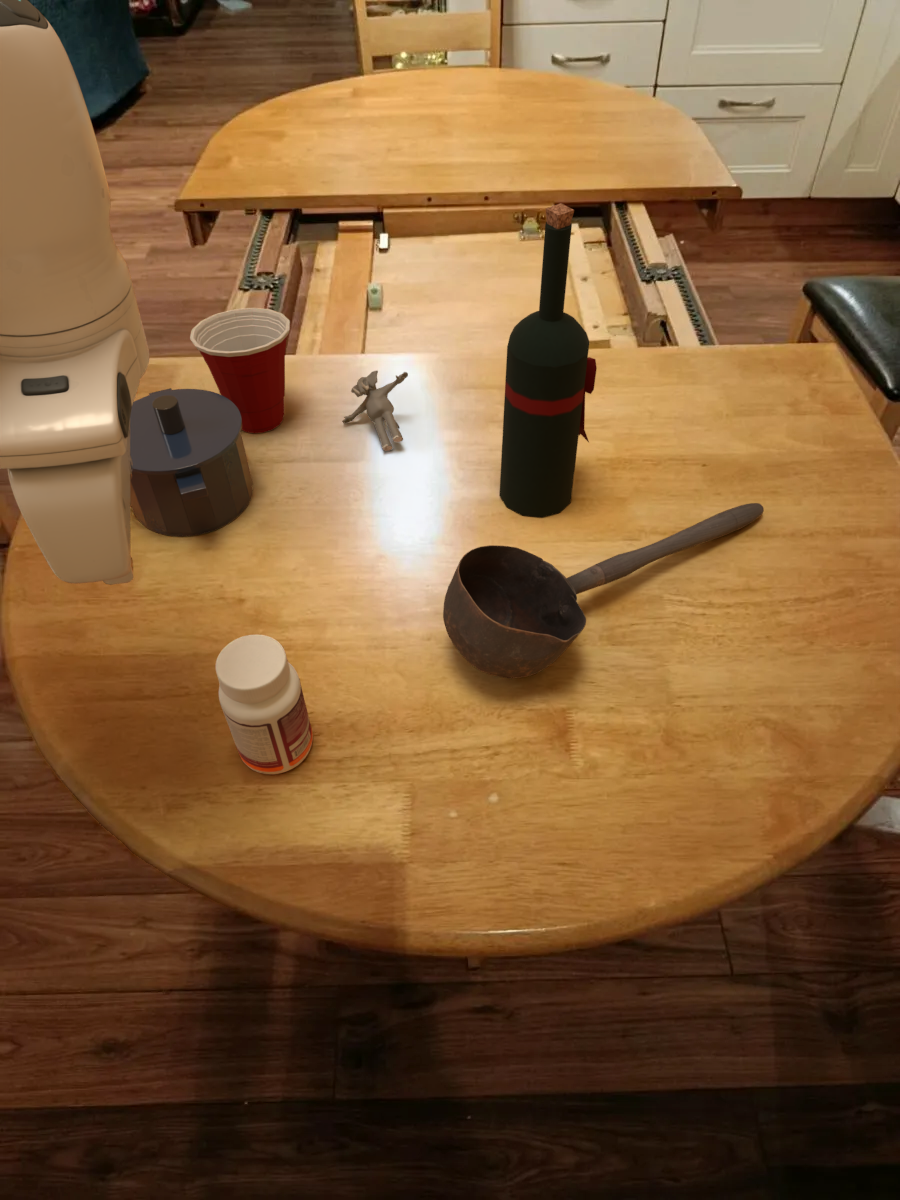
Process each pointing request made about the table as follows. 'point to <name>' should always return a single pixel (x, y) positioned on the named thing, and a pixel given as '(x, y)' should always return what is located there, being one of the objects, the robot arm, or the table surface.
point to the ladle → (545, 597)
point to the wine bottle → (545, 389)
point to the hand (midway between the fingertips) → (120, 522)
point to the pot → (194, 495)
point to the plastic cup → (247, 362)
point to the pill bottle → (263, 704)
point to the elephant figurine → (378, 407)
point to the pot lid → (181, 430)
